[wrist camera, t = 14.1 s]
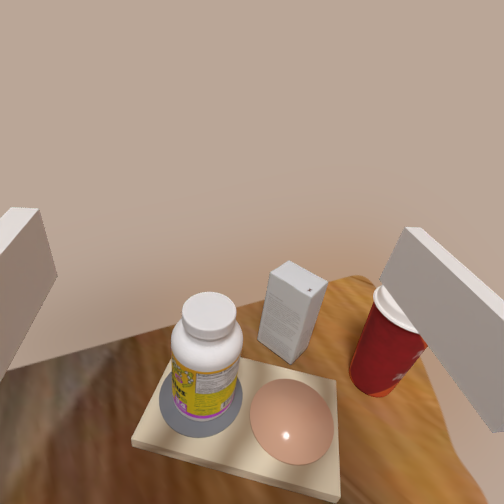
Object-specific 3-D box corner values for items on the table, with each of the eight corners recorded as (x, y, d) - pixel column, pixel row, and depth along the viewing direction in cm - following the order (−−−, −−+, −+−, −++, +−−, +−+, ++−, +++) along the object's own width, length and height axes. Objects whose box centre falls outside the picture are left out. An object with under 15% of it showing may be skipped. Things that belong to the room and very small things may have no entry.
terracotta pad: (241, 451, 30) (241, 449, 30) (257, 372, 37) (257, 370, 37) (334, 477, 29) (335, 475, 29) (332, 390, 37) (332, 389, 36)
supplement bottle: (170, 371, 36) (168, 286, 29) (227, 363, 37) (238, 281, 30) (173, 431, 30) (171, 344, 23) (239, 418, 32) (256, 334, 25)
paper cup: (407, 412, 37) (466, 332, 29) (343, 397, 38) (384, 316, 30) (393, 359, 44) (439, 282, 36) (338, 347, 44) (372, 269, 36)
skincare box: (307, 348, 43) (330, 281, 37) (290, 366, 40) (312, 298, 34) (273, 323, 46) (289, 258, 40) (255, 339, 43) (268, 272, 37)
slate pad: (143, 424, 31) (143, 423, 31) (178, 352, 38) (178, 351, 38) (231, 448, 30) (231, 447, 30) (249, 370, 37) (249, 368, 37)
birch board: (132, 446, 30) (131, 438, 30) (179, 349, 40) (179, 342, 40) (336, 503, 29) (340, 497, 28) (332, 387, 39) (335, 380, 38)
